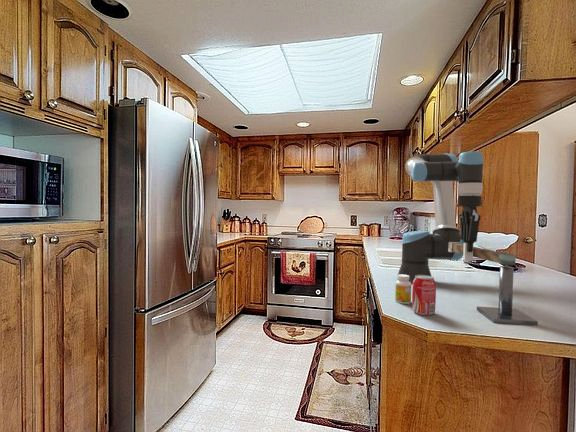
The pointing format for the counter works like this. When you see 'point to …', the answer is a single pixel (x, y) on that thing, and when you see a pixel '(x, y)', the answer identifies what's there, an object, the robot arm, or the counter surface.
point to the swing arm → (484, 254)
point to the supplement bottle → (403, 289)
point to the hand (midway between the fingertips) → (468, 260)
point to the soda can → (424, 295)
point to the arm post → (506, 303)
